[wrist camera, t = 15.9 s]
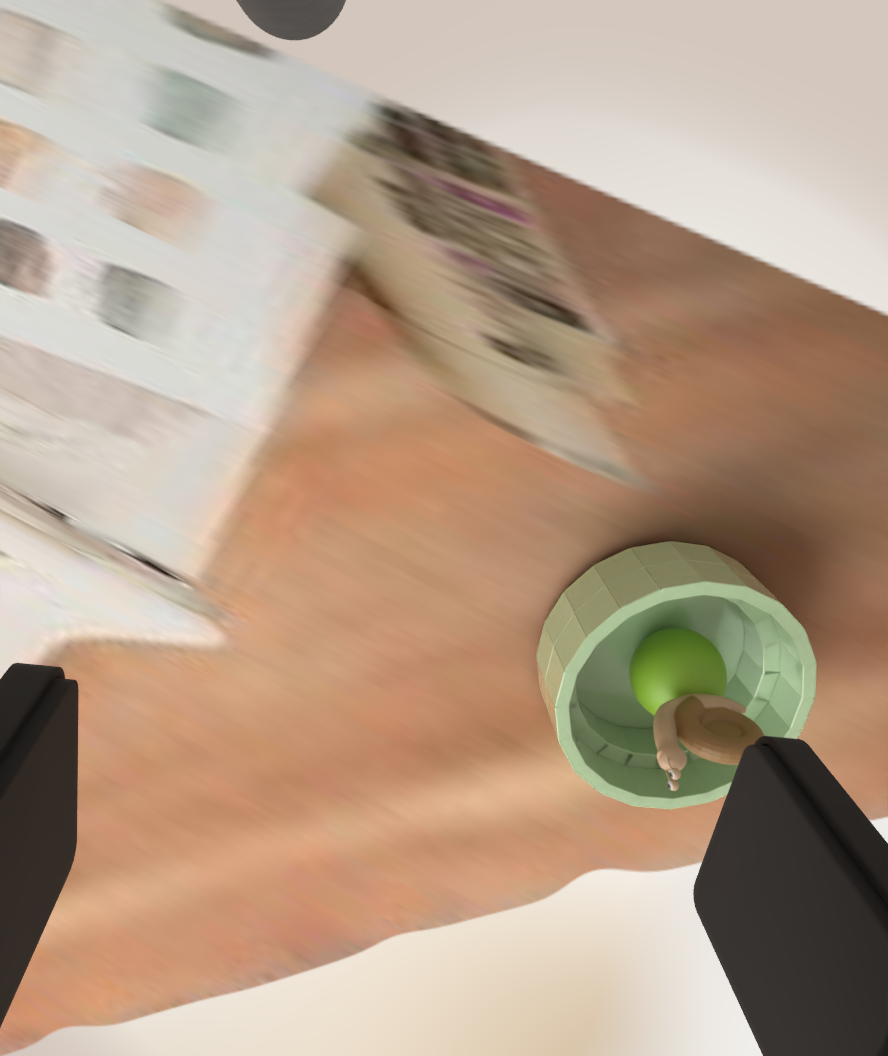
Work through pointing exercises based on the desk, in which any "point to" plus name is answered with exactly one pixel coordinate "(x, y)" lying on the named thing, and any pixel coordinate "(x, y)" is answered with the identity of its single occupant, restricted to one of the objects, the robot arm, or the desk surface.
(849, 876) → the robot arm
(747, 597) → the green round bowl
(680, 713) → the snail figurine
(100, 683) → the desk surface
